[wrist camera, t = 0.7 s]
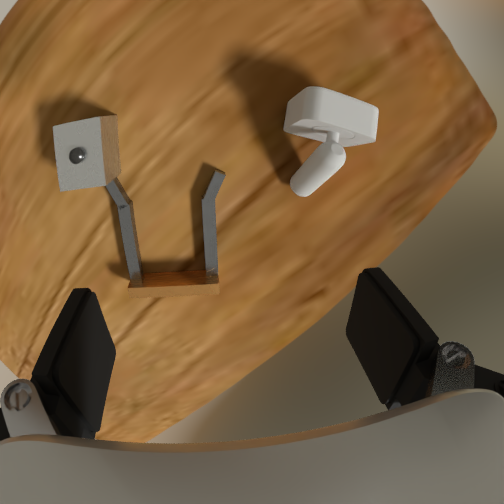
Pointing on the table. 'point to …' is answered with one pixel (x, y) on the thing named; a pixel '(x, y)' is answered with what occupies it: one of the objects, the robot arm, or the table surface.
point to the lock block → (87, 152)
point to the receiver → (170, 281)
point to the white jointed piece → (327, 132)
